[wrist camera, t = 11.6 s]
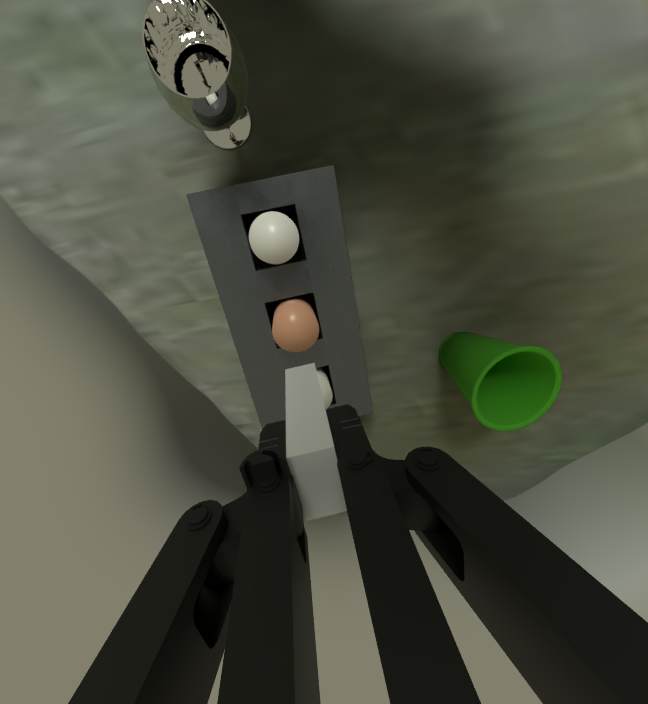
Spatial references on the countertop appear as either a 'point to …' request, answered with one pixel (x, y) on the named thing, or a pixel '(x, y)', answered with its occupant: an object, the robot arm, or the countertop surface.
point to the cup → (502, 379)
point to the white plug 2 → (324, 386)
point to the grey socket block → (285, 285)
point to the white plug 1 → (274, 237)
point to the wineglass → (199, 68)
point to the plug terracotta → (294, 324)
